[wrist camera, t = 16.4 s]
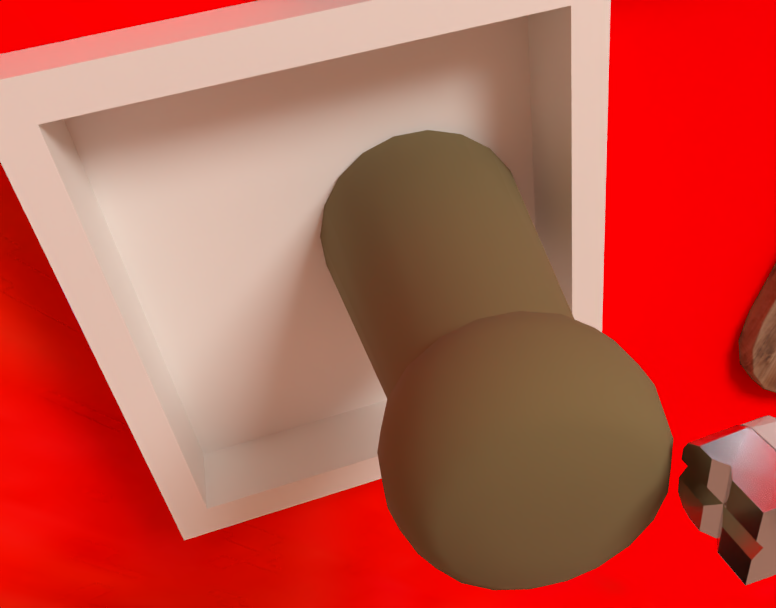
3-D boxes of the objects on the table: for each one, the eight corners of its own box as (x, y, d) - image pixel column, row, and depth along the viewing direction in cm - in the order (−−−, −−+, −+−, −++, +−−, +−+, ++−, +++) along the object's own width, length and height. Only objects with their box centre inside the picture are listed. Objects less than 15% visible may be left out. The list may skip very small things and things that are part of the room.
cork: (500, 99, 19) (731, 320, 9) (539, 280, 22) (738, 577, 13) (288, 173, 19) (312, 462, 10) (358, 342, 22) (425, 679, 13)
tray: (182, 471, 24) (184, 540, 21) (-5, 55, 16) (-36, 87, 14) (558, 358, 26) (599, 409, 23) (551, -61, 18) (611, -51, 16)
